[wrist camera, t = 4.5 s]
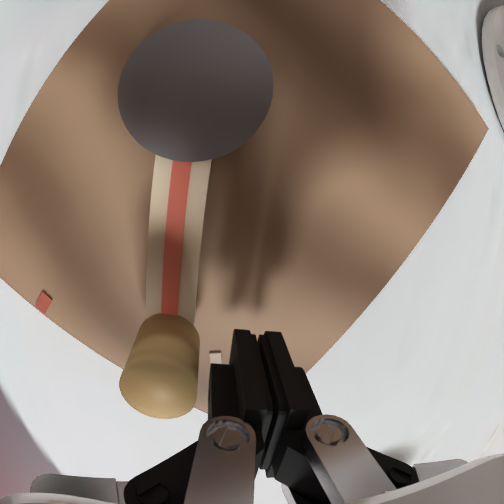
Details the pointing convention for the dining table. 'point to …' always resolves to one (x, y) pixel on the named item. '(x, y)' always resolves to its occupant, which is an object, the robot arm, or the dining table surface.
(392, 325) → the dining table surface
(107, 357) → the brown cloth
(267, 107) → the multicoloured piece
